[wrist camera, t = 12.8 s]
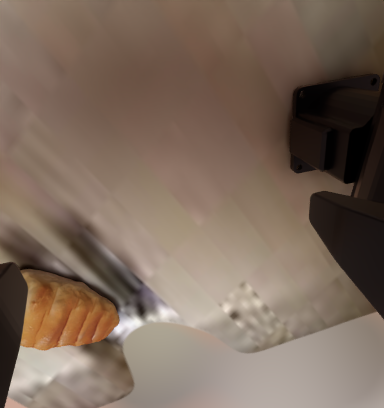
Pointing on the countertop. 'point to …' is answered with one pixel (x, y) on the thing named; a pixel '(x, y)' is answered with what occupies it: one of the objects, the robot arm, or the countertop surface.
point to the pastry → (64, 312)
